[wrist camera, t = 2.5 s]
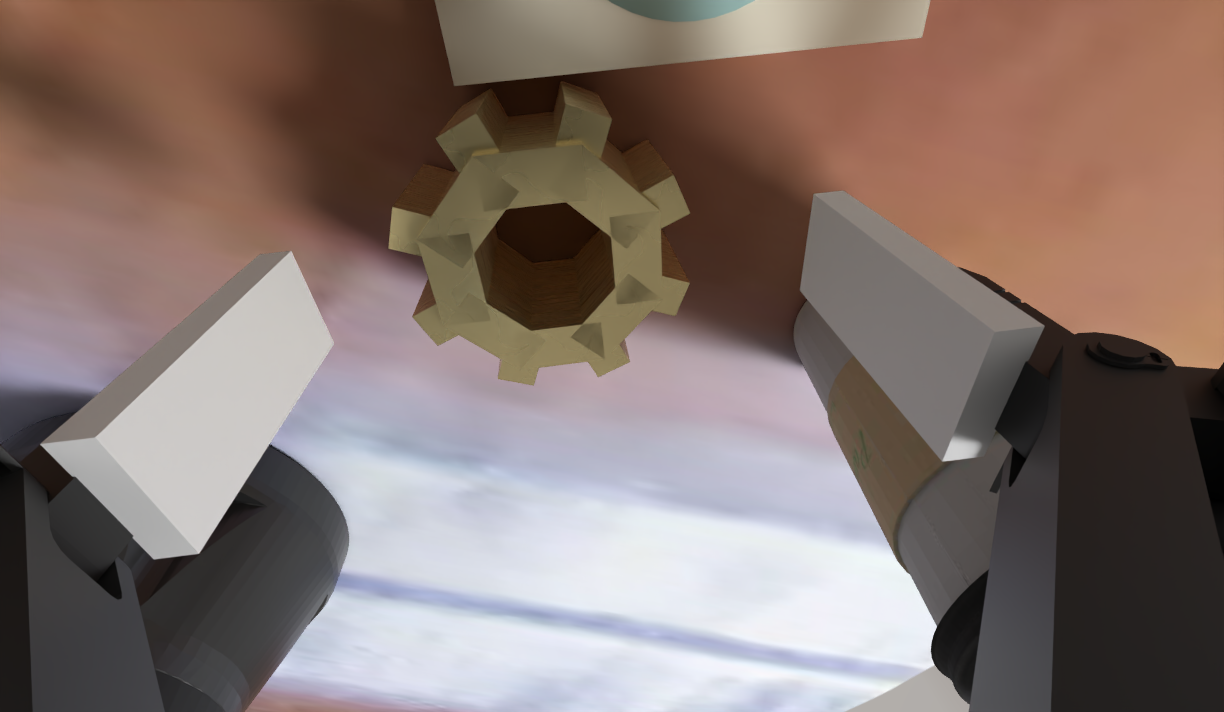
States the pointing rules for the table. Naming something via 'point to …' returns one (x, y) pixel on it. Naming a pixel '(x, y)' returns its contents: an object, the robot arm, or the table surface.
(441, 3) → the gear board
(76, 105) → the table surface
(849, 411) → the coffee cup
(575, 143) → the gear
